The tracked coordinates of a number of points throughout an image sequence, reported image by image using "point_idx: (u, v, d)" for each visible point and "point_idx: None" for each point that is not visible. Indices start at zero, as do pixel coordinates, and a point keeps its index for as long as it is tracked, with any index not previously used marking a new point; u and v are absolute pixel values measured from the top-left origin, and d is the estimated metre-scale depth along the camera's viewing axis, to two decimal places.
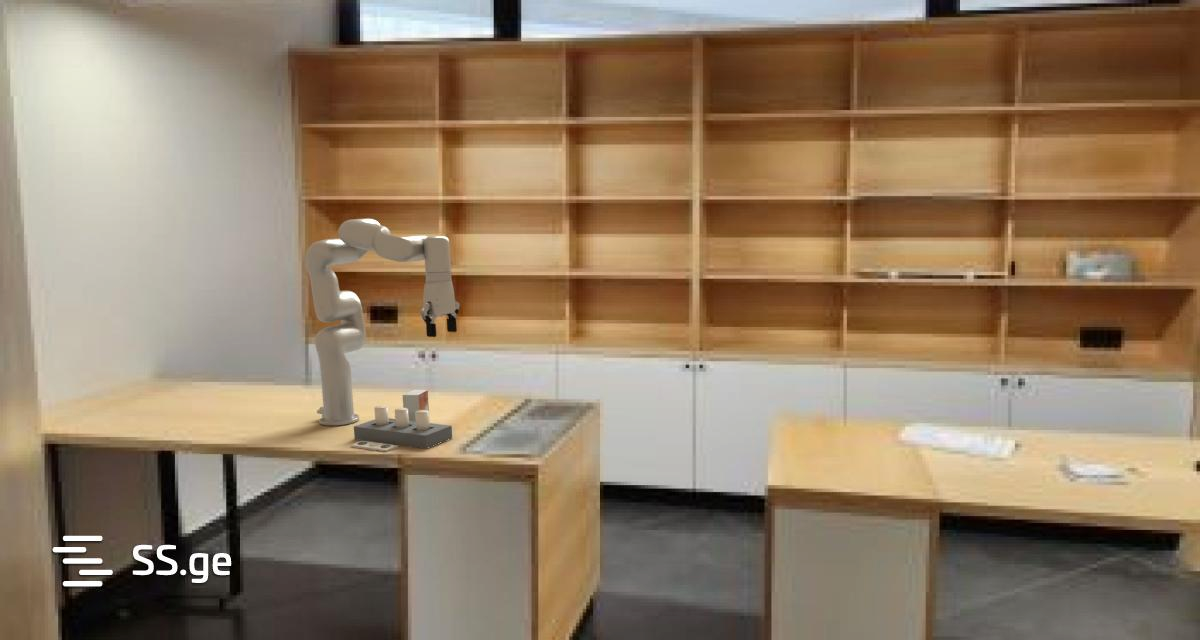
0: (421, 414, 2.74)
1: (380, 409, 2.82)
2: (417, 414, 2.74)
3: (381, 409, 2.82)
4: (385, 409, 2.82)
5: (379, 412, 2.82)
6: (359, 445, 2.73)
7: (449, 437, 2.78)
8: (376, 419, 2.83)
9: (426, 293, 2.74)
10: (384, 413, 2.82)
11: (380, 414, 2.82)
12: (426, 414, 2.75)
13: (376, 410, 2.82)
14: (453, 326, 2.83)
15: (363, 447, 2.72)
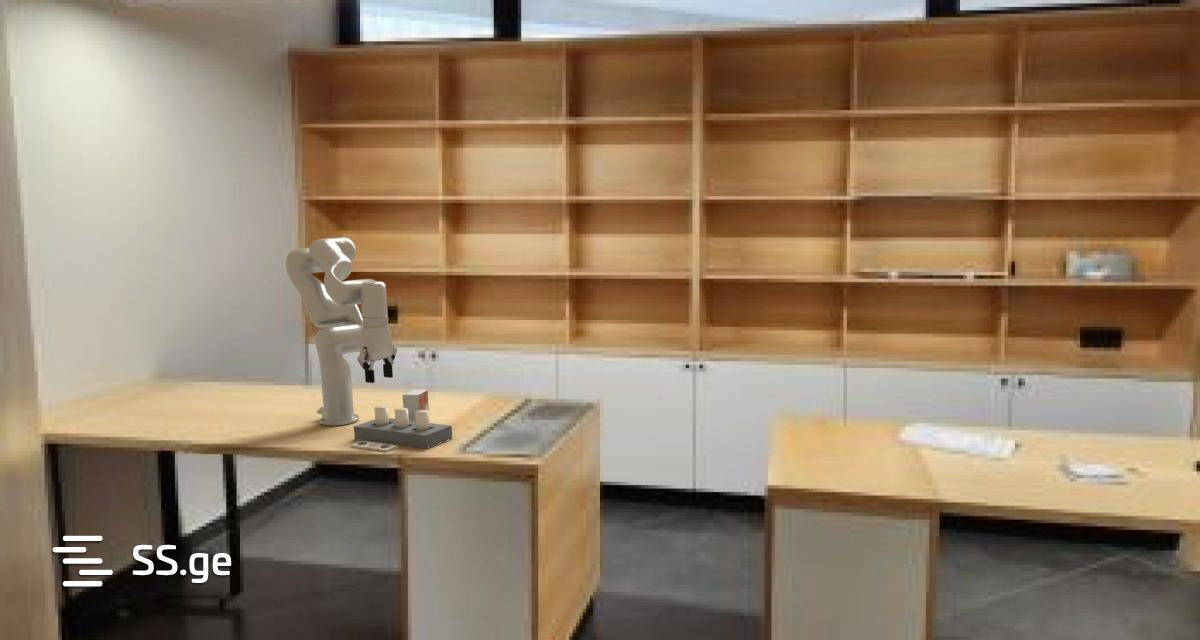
0: (421, 414, 2.74)
1: (380, 409, 2.82)
2: (417, 414, 2.74)
3: (381, 409, 2.82)
4: (385, 409, 2.82)
5: (379, 412, 2.82)
6: (359, 445, 2.73)
7: (449, 437, 2.78)
8: (376, 419, 2.83)
9: (362, 338, 2.77)
10: (384, 413, 2.82)
11: (380, 414, 2.82)
12: (426, 414, 2.75)
13: (376, 410, 2.82)
14: (389, 372, 2.85)
15: (363, 447, 2.72)
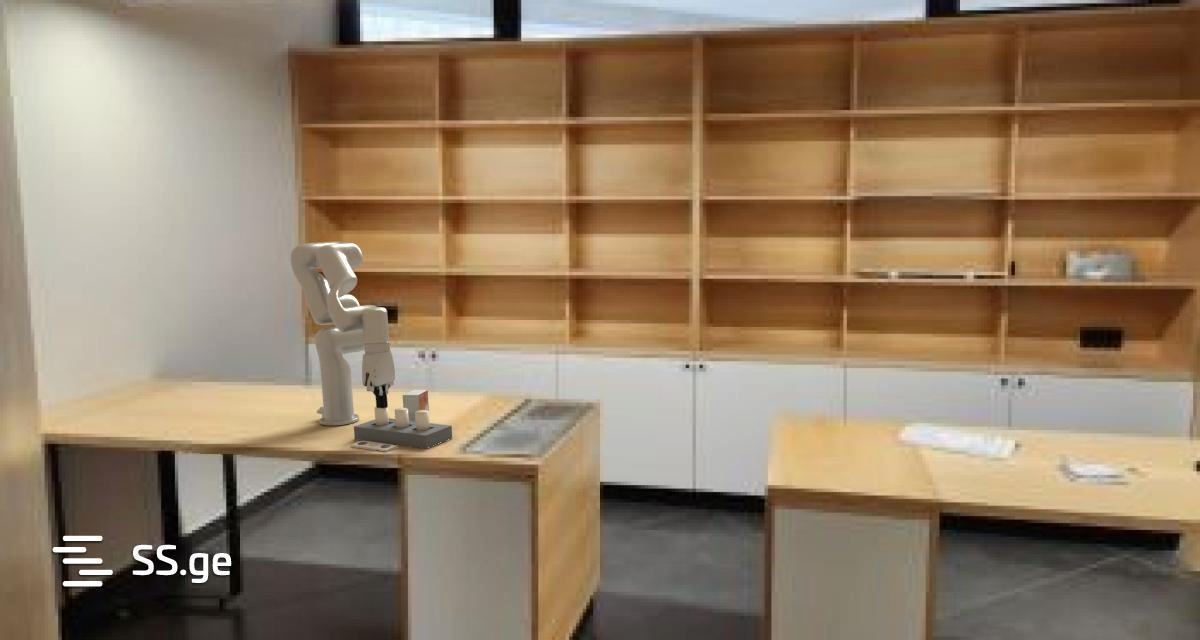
0: (421, 414, 2.74)
1: (380, 409, 2.82)
2: (417, 414, 2.74)
3: (381, 409, 2.82)
4: (385, 409, 2.82)
5: (379, 412, 2.82)
6: (359, 445, 2.73)
7: (449, 437, 2.78)
8: (376, 419, 2.83)
9: (364, 364, 2.78)
10: (384, 413, 2.82)
11: (380, 414, 2.82)
12: (426, 414, 2.75)
13: (376, 410, 2.82)
14: None
15: (363, 447, 2.72)
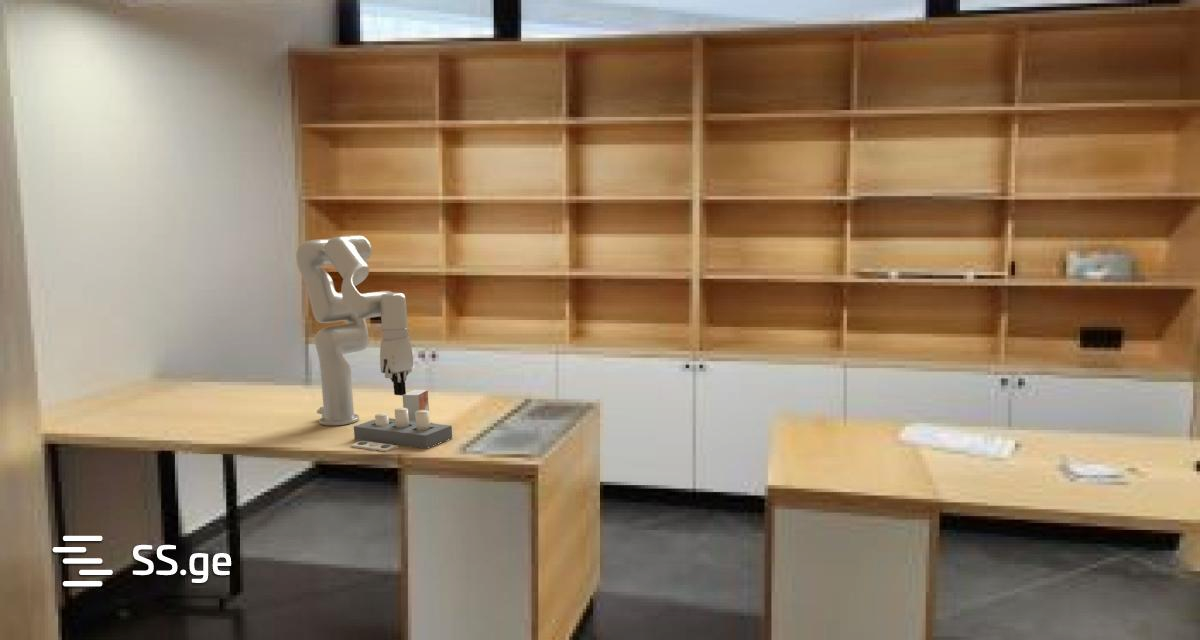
0: (421, 414, 2.74)
1: (381, 417, 2.82)
2: (417, 414, 2.74)
3: (382, 417, 2.82)
4: (386, 417, 2.83)
5: (380, 420, 2.82)
6: (359, 445, 2.73)
7: (449, 437, 2.78)
8: None
9: (382, 350, 2.73)
10: (385, 421, 2.83)
11: (381, 421, 2.82)
12: (426, 414, 2.75)
13: (377, 418, 2.82)
14: None
15: (363, 447, 2.72)
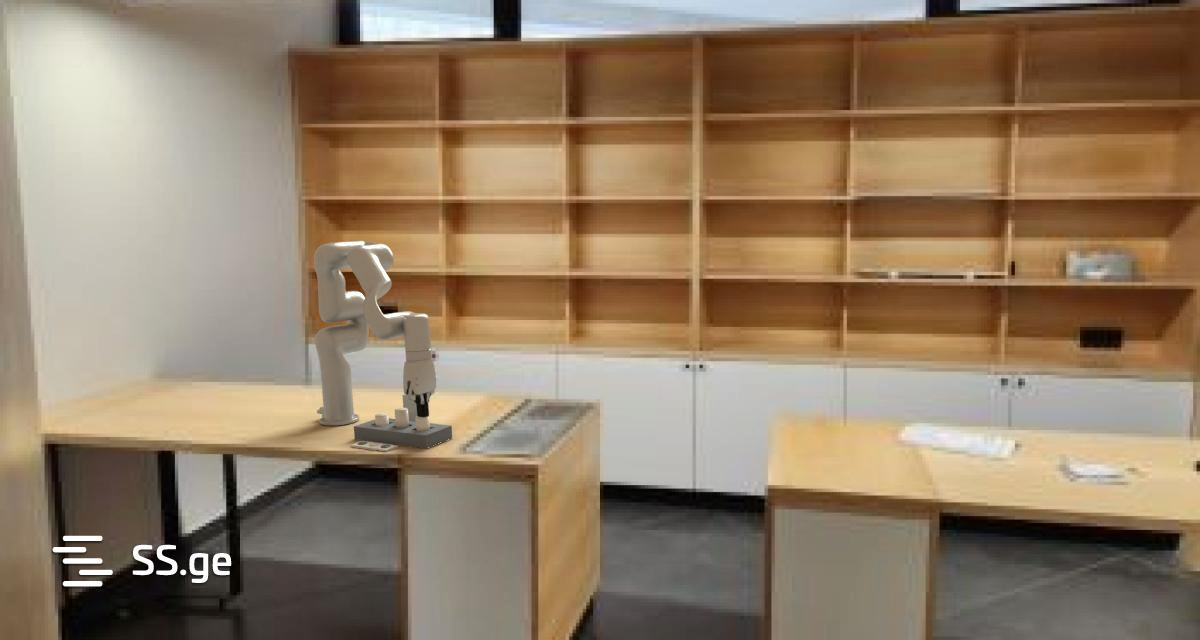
0: (421, 419, 2.74)
1: (381, 417, 2.82)
2: (417, 419, 2.74)
3: (382, 417, 2.82)
4: (386, 417, 2.83)
5: (380, 420, 2.82)
6: (359, 445, 2.73)
7: (449, 437, 2.78)
8: None
9: (406, 372, 2.70)
10: (385, 421, 2.83)
11: (381, 421, 2.82)
12: (426, 419, 2.75)
13: (377, 418, 2.82)
14: None
15: (363, 447, 2.72)
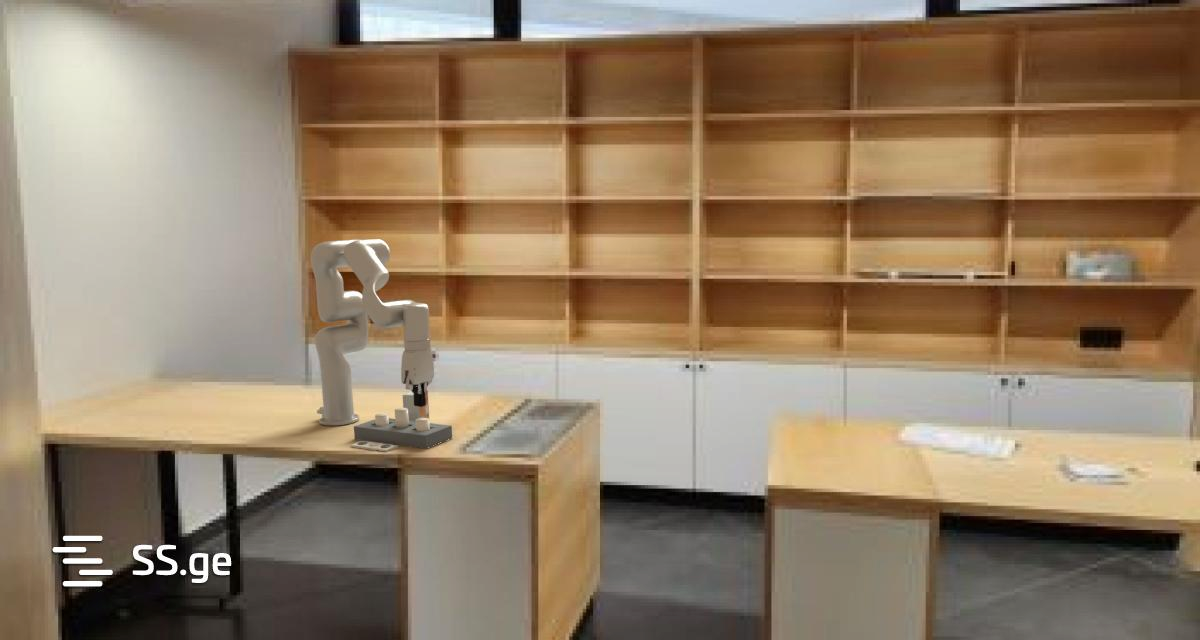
0: (422, 422, 2.74)
1: (381, 417, 2.82)
2: (418, 422, 2.75)
3: (382, 417, 2.82)
4: (386, 417, 2.83)
5: (380, 420, 2.82)
6: (359, 445, 2.73)
7: (449, 437, 2.78)
8: None
9: (404, 362, 2.70)
10: (385, 421, 2.83)
11: (381, 421, 2.82)
12: (426, 422, 2.75)
13: (377, 418, 2.82)
14: None
15: (363, 447, 2.72)
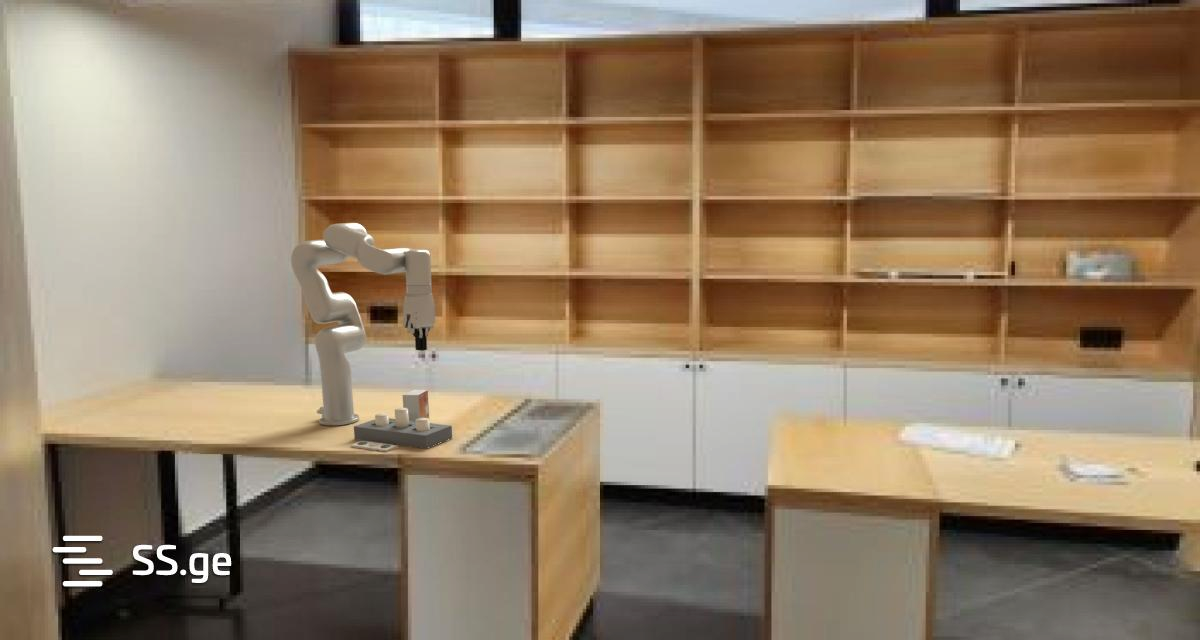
0: (422, 422, 2.74)
1: (381, 417, 2.82)
2: (418, 422, 2.75)
3: (382, 417, 2.82)
4: (386, 417, 2.83)
5: (380, 420, 2.82)
6: (359, 445, 2.73)
7: (449, 437, 2.78)
8: None
9: (406, 306, 2.78)
10: (385, 421, 2.83)
11: (381, 421, 2.82)
12: (426, 422, 2.75)
13: (377, 418, 2.82)
14: None
15: (363, 447, 2.72)
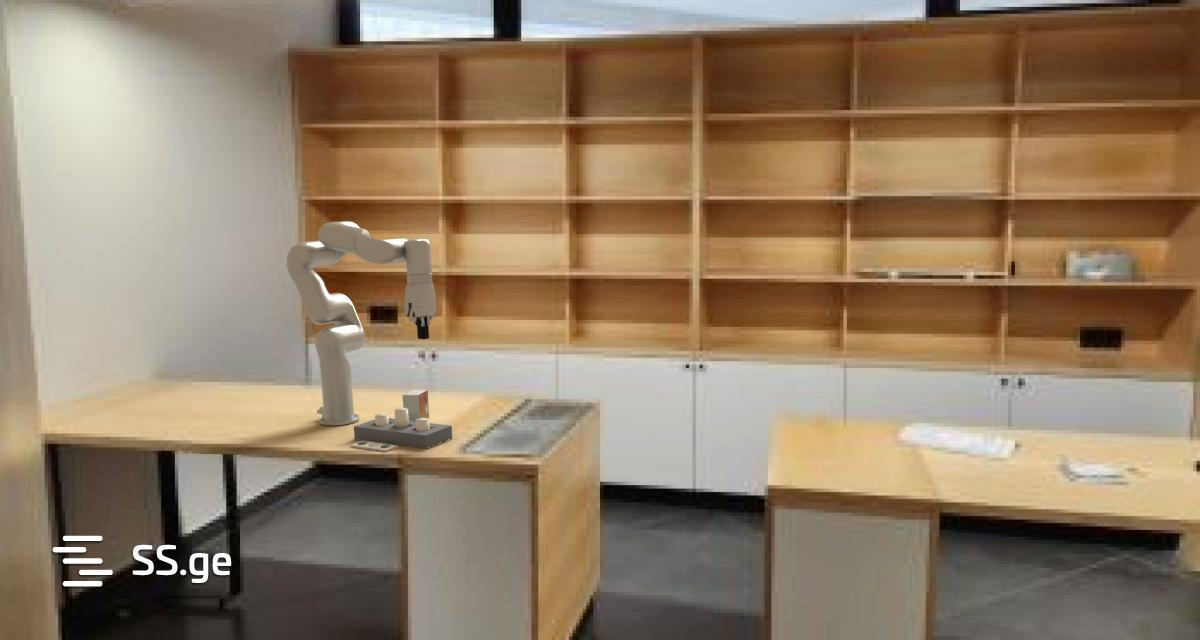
0: (422, 422, 2.74)
1: (381, 417, 2.82)
2: (418, 422, 2.75)
3: (382, 417, 2.82)
4: (386, 417, 2.83)
5: (380, 420, 2.82)
6: (359, 445, 2.73)
7: (449, 437, 2.78)
8: None
9: (407, 294, 2.80)
10: (385, 421, 2.83)
11: (381, 421, 2.82)
12: (426, 422, 2.75)
13: (377, 418, 2.82)
14: None
15: (363, 447, 2.72)
